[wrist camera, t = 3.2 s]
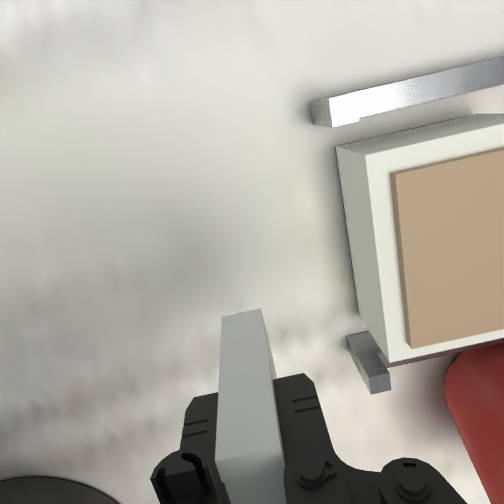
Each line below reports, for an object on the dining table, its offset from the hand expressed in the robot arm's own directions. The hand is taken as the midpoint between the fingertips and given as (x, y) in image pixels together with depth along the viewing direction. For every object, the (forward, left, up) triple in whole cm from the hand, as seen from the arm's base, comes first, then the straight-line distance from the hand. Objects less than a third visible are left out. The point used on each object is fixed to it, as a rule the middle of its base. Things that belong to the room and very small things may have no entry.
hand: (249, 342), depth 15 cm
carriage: (+11, 0, -9) cm, 14 cm away
